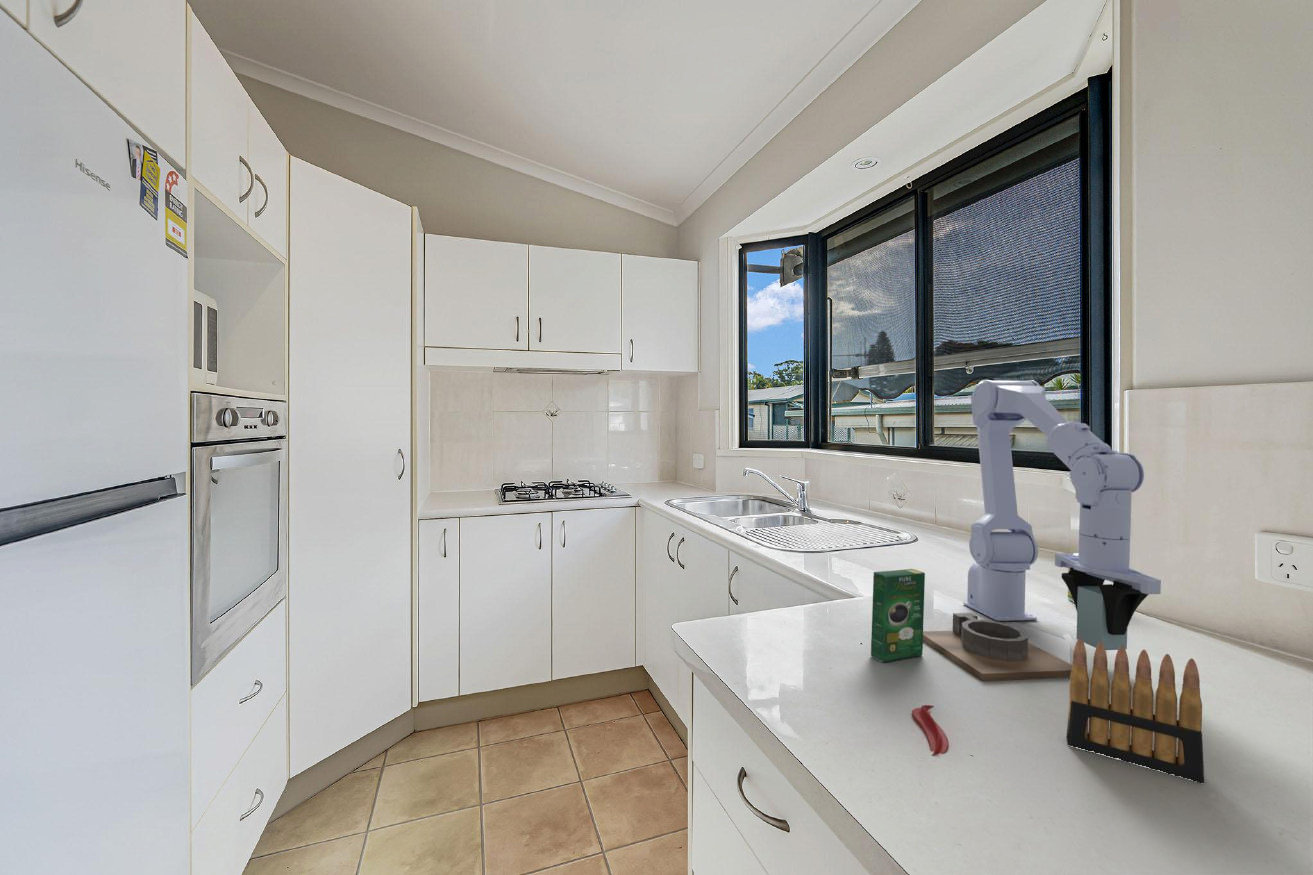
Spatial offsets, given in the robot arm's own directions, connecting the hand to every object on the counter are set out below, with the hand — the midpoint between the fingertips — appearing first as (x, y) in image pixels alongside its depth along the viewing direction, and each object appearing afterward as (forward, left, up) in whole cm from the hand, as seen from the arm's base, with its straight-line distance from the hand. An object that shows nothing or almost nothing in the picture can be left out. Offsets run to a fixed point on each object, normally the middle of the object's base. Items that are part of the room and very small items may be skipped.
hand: (1101, 627), depth 77 cm
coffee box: (-6, -28, -6) cm, 29 cm away
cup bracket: (-5, -13, -6) cm, 15 cm away
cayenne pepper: (+13, -35, -6) cm, 38 cm away
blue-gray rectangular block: (0, 0, -2) cm, 2 cm away
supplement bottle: (-27, +24, -6) cm, 37 cm away
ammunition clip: (+20, -17, -6) cm, 27 cm away
